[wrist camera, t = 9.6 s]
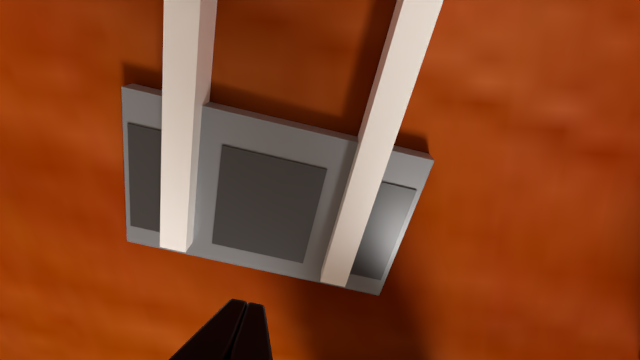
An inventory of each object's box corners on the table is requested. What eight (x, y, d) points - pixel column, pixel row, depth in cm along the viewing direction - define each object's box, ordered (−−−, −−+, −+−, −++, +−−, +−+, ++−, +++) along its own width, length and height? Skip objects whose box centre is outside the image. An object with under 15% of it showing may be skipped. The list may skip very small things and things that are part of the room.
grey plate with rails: (518, -69, 13) (545, -84, 12) (377, 284, 22) (380, 307, 20) (127, -176, 13) (92, -208, 11) (136, 231, 21) (117, 251, 19)
